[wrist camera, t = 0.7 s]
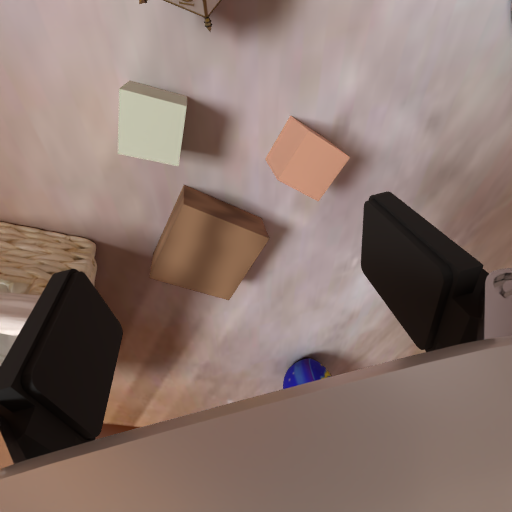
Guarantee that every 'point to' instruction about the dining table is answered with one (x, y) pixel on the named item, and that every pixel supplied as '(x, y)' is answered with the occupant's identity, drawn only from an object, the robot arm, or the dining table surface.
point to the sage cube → (150, 123)
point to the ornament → (304, 373)
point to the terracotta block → (305, 159)
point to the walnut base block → (207, 245)
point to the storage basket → (34, 272)
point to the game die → (196, 7)
